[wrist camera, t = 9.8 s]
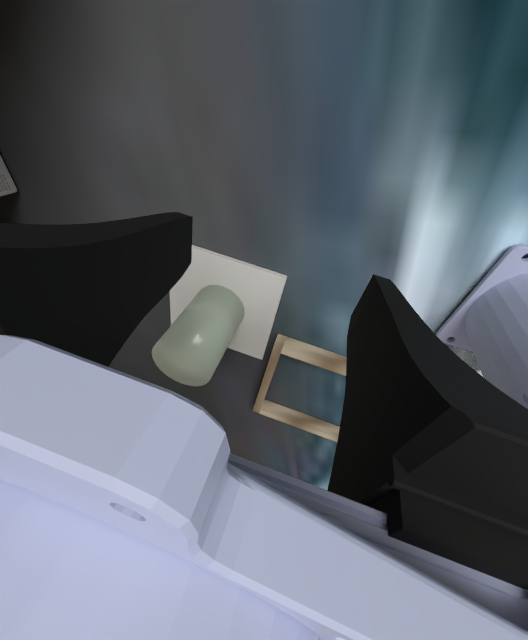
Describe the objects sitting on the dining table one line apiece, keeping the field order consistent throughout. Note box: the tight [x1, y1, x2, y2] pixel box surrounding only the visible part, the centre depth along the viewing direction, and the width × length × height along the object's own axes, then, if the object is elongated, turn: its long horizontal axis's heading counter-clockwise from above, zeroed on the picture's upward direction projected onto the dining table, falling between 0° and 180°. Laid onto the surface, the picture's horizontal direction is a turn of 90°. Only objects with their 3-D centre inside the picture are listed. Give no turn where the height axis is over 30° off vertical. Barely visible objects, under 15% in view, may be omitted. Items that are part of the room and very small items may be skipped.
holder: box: [253, 334, 347, 442], centre depth 29 cm, size 12×12×2 cm
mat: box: [170, 245, 287, 360], centre depth 26 cm, size 10×10×1 cm
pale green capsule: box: [152, 285, 245, 386], centre depth 23 cm, size 6×5×7 cm
